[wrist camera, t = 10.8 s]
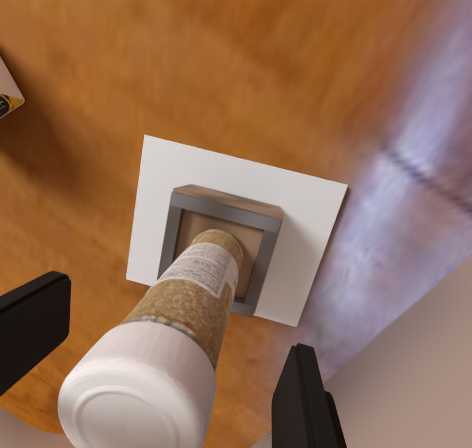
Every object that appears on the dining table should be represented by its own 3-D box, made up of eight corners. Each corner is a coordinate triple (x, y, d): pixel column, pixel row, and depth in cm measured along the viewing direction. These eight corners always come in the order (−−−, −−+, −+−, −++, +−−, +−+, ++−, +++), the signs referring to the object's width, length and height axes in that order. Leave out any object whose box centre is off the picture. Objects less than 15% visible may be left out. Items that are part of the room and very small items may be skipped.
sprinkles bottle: (230, 286, 20) (170, 510, 7) (182, 264, 20) (35, 447, 7) (253, 241, 19) (230, 416, 6) (202, 217, 19) (66, 339, 6)
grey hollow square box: (279, 206, 23) (284, 219, 17) (256, 286, 25) (254, 320, 20) (191, 183, 24) (169, 189, 18) (176, 264, 26) (152, 291, 20)
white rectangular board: (345, 184, 22) (347, 184, 22) (295, 323, 27) (296, 327, 26) (147, 135, 23) (144, 134, 23) (128, 276, 28) (126, 279, 27)
